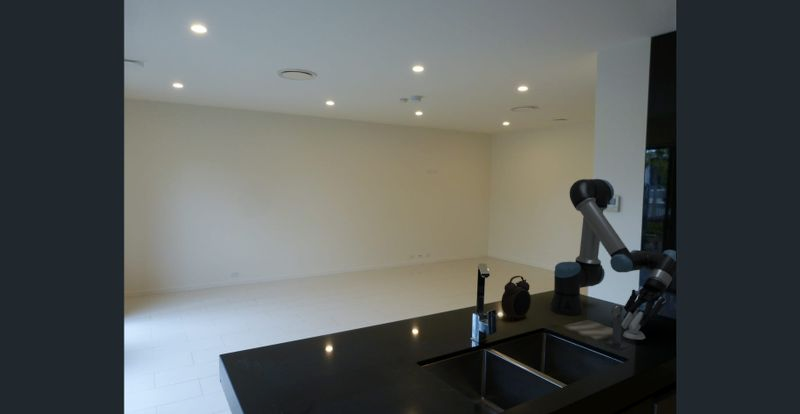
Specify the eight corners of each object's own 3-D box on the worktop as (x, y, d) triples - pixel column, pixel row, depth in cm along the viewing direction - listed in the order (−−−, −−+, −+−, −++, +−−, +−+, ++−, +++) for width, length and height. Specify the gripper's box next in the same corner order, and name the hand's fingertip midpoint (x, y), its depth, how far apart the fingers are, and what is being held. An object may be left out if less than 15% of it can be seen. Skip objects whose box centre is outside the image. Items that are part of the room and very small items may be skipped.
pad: (563, 327, 177) (563, 325, 177) (588, 321, 184) (588, 319, 184) (595, 340, 162) (595, 338, 162) (621, 333, 169) (621, 331, 169)
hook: (661, 325, 158) (649, 317, 157) (642, 349, 159) (629, 341, 158) (648, 316, 165) (636, 308, 164) (629, 339, 167) (617, 331, 165)
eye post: (605, 344, 159) (606, 304, 158) (613, 341, 161) (614, 302, 160) (619, 349, 154) (620, 308, 152) (627, 347, 156) (629, 306, 155)
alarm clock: (512, 324, 181) (512, 280, 180) (499, 319, 187) (500, 276, 186) (533, 318, 189) (534, 275, 188) (521, 313, 195) (521, 272, 194)
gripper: (682, 294, 160) (654, 342, 154) (640, 283, 175) (613, 326, 169) (675, 282, 157) (646, 331, 151) (633, 272, 172) (605, 316, 166)
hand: (628, 328), depth 160 cm, fingers closed on hook, 4 cm apart
